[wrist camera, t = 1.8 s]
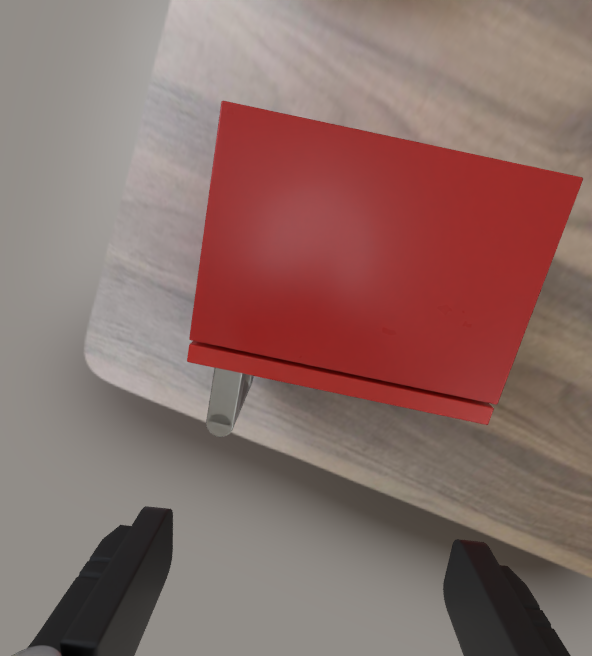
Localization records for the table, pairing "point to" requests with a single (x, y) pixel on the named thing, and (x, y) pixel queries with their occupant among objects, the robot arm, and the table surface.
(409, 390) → the door
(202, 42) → the table surface
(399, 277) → the red cabinet
